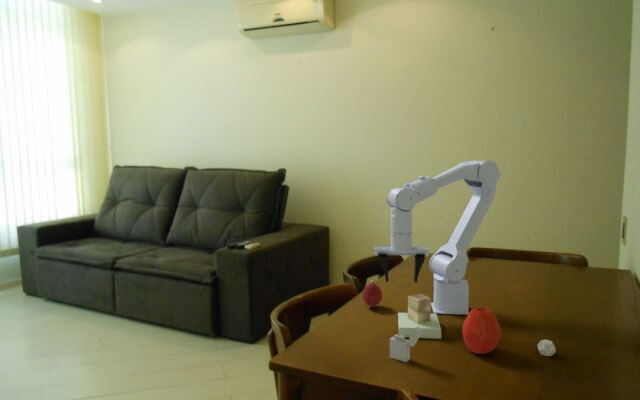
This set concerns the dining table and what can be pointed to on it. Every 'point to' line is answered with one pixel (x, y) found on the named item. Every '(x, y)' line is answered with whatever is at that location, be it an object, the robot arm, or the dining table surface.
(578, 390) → the dining table surface
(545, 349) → the game die
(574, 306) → the dining table surface
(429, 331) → the stacking block
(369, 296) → the onion
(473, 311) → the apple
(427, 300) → the beech block
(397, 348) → the lighter
